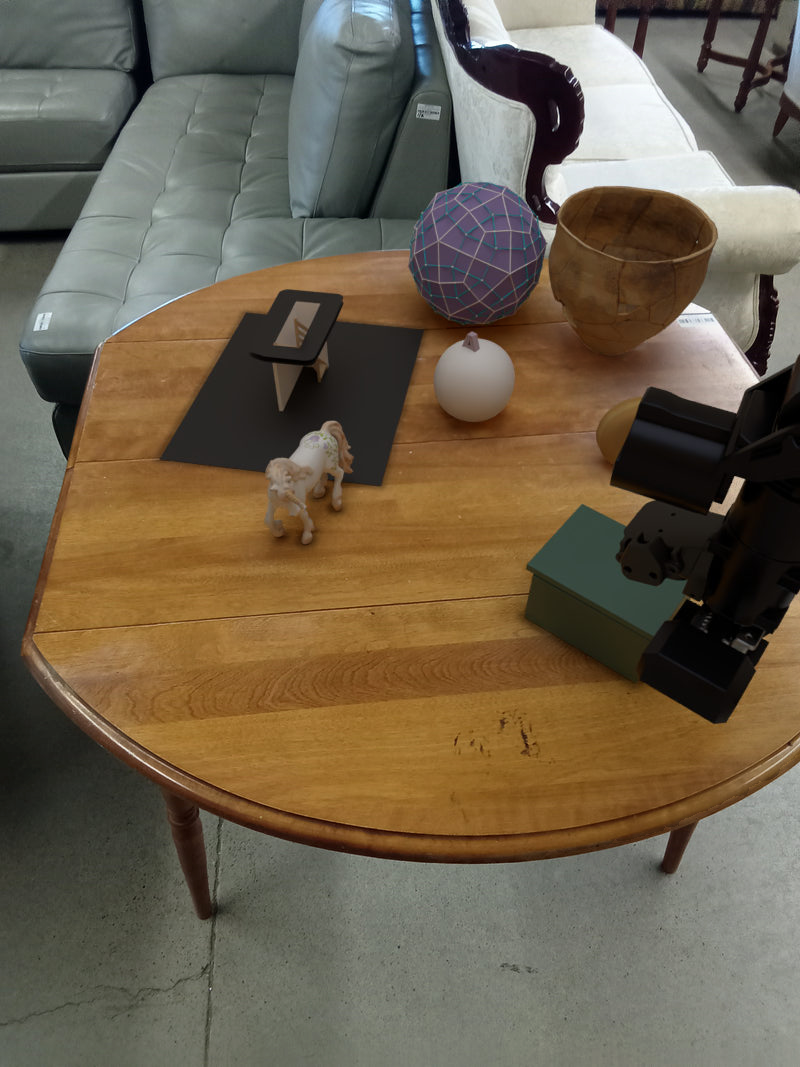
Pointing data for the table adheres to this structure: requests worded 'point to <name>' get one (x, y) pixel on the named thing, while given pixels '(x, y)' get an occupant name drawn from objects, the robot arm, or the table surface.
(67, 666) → the table surface
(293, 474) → the unicorn figurine
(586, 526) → the lid
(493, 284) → the decorative sphere
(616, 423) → the doughnut
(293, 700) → the table surface
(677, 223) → the bowl
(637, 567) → the robot arm
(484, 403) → the ornament
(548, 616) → the chest
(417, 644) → the table surface
